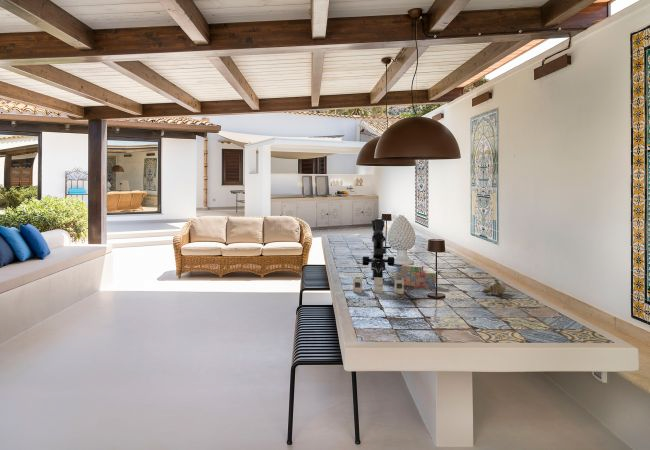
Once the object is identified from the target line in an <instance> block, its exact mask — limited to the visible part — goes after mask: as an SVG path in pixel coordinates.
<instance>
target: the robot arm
mask: <svg viewBox="0 0 650 450" xmlns="http://www.w3.org/2000/svg"><path fill="white" fill-rule="evenodd" d="M371 228H372V231H373V233H372V234H373V235H371V242H373V253H372V255H373V257H372V258H370V256H368V255H367V256H362V262H361V263H362V266H369V265H370V263H371V265H370V266H371V267H370V270H371V271H372V277H371V278H370V279H371V280H373V281H374V278H383V280H385V278H384V277H383V276H384V273H383V272H384V271H386V264H387V266H389V267H394V266H395V257H394V256H387V258H384V255H386V254H387V248H386V247H384V243H385V241H386V240H387V239H386V237H385V235H384V232H383V231H384V228H385V220H383V219H382V218H376V219H374V220H371Z"/></svg>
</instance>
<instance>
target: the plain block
mask: <svg viewBox="0 0 650 450" xmlns="http://www.w3.org/2000/svg"><path fill="white" fill-rule="evenodd" d="M383 278H384V277H383ZM383 278H374V280H373V294H383V293H384V292H383V290H384V285H383V284H384V283H383V282H384V281H383Z"/></svg>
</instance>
